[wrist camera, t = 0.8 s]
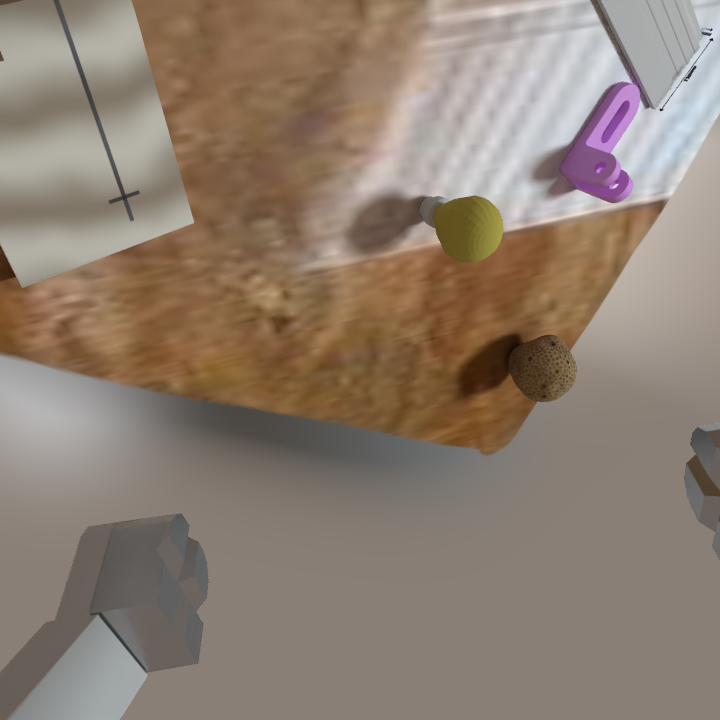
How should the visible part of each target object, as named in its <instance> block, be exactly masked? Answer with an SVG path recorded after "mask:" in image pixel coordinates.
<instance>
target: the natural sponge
mask: <svg viewBox="0 0 720 720" xmlns="http://www.w3.org/2000/svg"><path fill="white" fill-rule="evenodd" d="M508 367H509V371H510V374H511V376H512V378H513V380H514V382H515V384H516V385H517V386H518V388H519V389H520V390H521V391H522V393H524V395H526V396H527V397H528V398H530V399H532V400H534V401H539V402H547V401H553V400H555V399H558V398H560V397H561V396H563V395H564V394H565V393H566V392H567V391H569V389H570V388H571V387H572V386H573V384H574V382H575V378H576V372H577V367H576V363H575V361H574V358H573V356H572V355H571V353H570V351H569V349H568V347H567V345H566V344H565V343H564V342H563V340H561V339H560V338H558V337H557V336H554V335H544V336H541V337H538V338H537V339H535V340H532V341H529V342H526V343H524V344H522V345H519V346H517V347H516V348H514V349H513V350H512V351H511V353H510V355H509V360H508Z"/></svg>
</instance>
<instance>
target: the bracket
mask: <svg viewBox="0 0 720 720" xmlns="http://www.w3.org/2000/svg"><path fill="white" fill-rule="evenodd" d="M639 102H640V91H639V89H638V87H637V86H636V85H634V84H631V83H627V82H620V83H618V84H616V85H615V86H614V87H613V88H612V89H611V90H610V91H609V92H608V94H607V95H606V97H605V99H604V100H603V102H602V103H601V105H600V106H599V108H598V109H597V111H596V112H595V114H594V115H593V117H592V118H591V120H590V121H589V123H588V125H587V126H586V128H585V129H584V131H583V132H582V134H581V135H580V137H579V138H578V140H577V141H576V143H575V144H574V146H573V148H572V149H571V151H570V152H569V154H568V155H567V157H566V158H565V160H564V161H563V163H562V164H561V166H560V167H559V170H560V171H561V172H562V173H563V174H564V175H565V177H566V178H567V179H568V180H569V181H570V182H571V183H572V184H573V185H574V187H575V188H576V189H578V190H580V191H583V192H585V193H587V194H590V195H592V196H595V197H597V198H600V199H602V200H605V201H607V202H610V203H617V202H620V201H622V200H624V199H625V198H627V197H628V196H629V194H630V193H631V191H632V188H633V182H632V180H631V178H630V177H629V176H628V174H627V173H626V172H625V171H623V170H621V167H620V164H619V162H618V161H617V160H616V158H615V157H614V156H613V155H612V154H610V153H611V152H612V150H613V149H614V147H615V146H616V144H617V143H618V141H619V140H620V138H621V137H622V135H623V134H624V132H625V131H626V129H627V128H628V126H629V124H630V123H631V121H632V120H633V118H634V117H635V115H636V112H637V110H638V107H639ZM619 108H620V109H619ZM618 109H619V110H618ZM617 111H618V112H617ZM616 112H617V113H616ZM615 114H616V115H615ZM614 115H615V117H614ZM613 117H614V118H613ZM612 118H613V120H612ZM611 120H612V121H611ZM610 121H611V123H610ZM609 123H610V124H609ZM608 125H609V126H608ZM607 126H608V127H607ZM606 128H607V129H606ZM605 129H606V130H605ZM604 131H605V132H604ZM603 132H604V133H603ZM602 134H603V135H602ZM618 183H619V185H618V186H617V187H616V188H614V189H612V187H613V186H614V185H615V184H618Z"/></svg>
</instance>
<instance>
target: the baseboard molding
mask: <svg viewBox="0 0 720 720" xmlns="http://www.w3.org/2000/svg"><path fill="white" fill-rule="evenodd" d="M596 1H597V3H598V5H599V7H600V8H601V10H602V12H603V14H604V16H605V18H606V20H607V22H608V24H609V26H610V28H611V30H612V32H613V34H614V36H615V38H616V40H617V42H618V44H619V46H620V48H621V50H622V52H623V54H624V56H625V58H626V60H627V62H628V64H629V66H630V68H631V70H632V72H633V74H634V76H635V78H636V80H637V82H638V84H639V86H640V88H641V90H642V92H643V94H644V96H645V98H646V100H647V102H648V104H649V106H650V108H652V109H656V108H657V107H658V105H659V104H660V102H661V101H662V100H663V98H664V97H665V95H666V94H667V93H668V91H669V90H670V88H671V87H672V86H673V84H674V82H675V80H676V79H677V78H678V77H679V76H680V75H681V73H682V71H683V69H684V68H685V67H686V65H687V64H688V63H689V62H690V60H691V58H692V57H693V55H694V54H695V53H696V52H697V51H698V49H699V48H700V47H699V41H700V40H701V39H702V37H703V35H702V34H704V33H705V34H704V35H709V34H710V33H708V34H707V33H706V32H704V33H702V32H701V30H700V27H699V24H698V21H697V18H696V16H695V13H694V10H693V7H692V4H691V2H690V0H596ZM708 30H710V29H708ZM710 31H712V29H711V30H710ZM711 34H712V33H711ZM711 34H710V35H711ZM710 35H709V36H710ZM710 40H711V41H713V38H712V39H710ZM711 41H710V42H711ZM710 42H709V43H710ZM707 46H708V45H707ZM707 46H706V47H707ZM705 49H706V48H705ZM705 49H704V50H705ZM702 53H703V52H702ZM702 53H701V54H702ZM700 56H701V55H700ZM700 56H699V57H700ZM699 57H698V58H699ZM697 60H698V59H697ZM697 60H696V61H697ZM695 63H696V62H695ZM695 63H694V64H695ZM694 64H693V65H694ZM692 67H693V66H692ZM692 67H691V68H692ZM694 67H695V68H696V66H694ZM694 67H693V69H692V70H691V69H690V70H691V71H690V70H689V71H690V72H691V73H689V74H688V73H687V74H688V76H687V77H686V79H687V78H688V79H689V78H690V77H691V74H692V73H693V70H695V68H694ZM689 71H688V72H689ZM687 74H686V75H687ZM689 75H690V76H689ZM684 78H685V77H684ZM684 78H683V79H684ZM686 79H685V80H684V81H686V82H687V81H688V80H686ZM682 81H683V80H682ZM682 81H681V82H682ZM679 85H680V84H679ZM679 85H678V86H679ZM677 88H678V87H677ZM677 88H676V89H677ZM674 92H675V91H674ZM674 92H673V93H674ZM672 95H673V94H672ZM672 95H671V96H672ZM671 96H670V97H671ZM669 99H670V98H669ZM669 99H668V100H669ZM667 102H668V101H667ZM667 102H666V103H667ZM666 103H665V104H666ZM664 106H665V105H664ZM664 106H663V107H664ZM662 110H663V108H662V109H660V111H662Z"/></svg>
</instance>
